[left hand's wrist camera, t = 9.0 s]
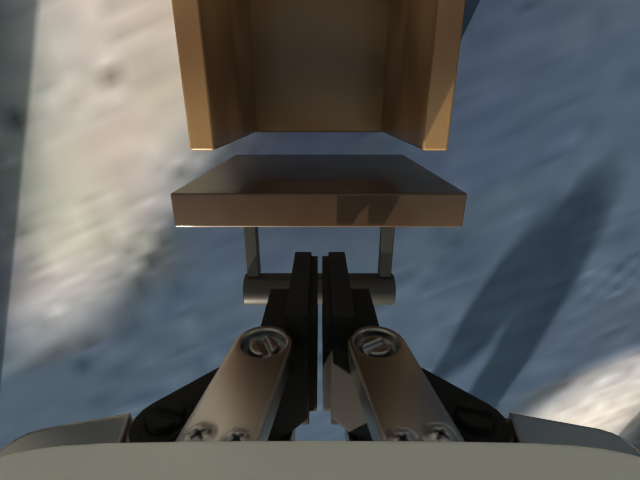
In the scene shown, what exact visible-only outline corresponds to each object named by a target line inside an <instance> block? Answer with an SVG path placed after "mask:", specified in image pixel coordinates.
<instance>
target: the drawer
mask: <svg viewBox="0 0 640 480" xmlns="http://www.w3.org/2000/svg"><path fill="white" fill-rule="evenodd" d="M465 1H466V0H172V7H173V15H174V23H175V31H176V38H177V46H178V54H179V62H180V70H181V78H182V86H183V94H184V101H185V109H186V117H187V125H188V133H189V141H190V148H191V150H214V149H217V148H219V147H221V146H224V145H226V144H228V143H231V142H233V141H236V140H238V139H240V138H243V137H245V136H247V135H250V134H252V133H254V132H384V133H386V134H389V135H391V136H393V137H396V138H398V139H400V140H402V141H405V142H407V143H409V144H412V145H414V146H416V147H418V148H421V149H423V150H447V146H448V138H449V130H450V122H451V114H452V106H453V98H454V90H455V82H456V74H457V66H458V58H459V50H460V41H461V33H462V25H463V17H464V9H465ZM466 197H467V194H466V193H465V192H463V191H461V190H460V189H458V188H456V187H455V186H453V185H452V184H450V183H448V182H447V181H445V180H443V179H442V178H440V177H438V176H437V175H435V174H433V173H432V172H430V171H429V170H427V169H425V168H424V167H422V166H420V165H419V164H417V163H415V162H414V161H412V160H410V159H409V158H407V157H406V156H404V155H235V156H233V157H232V158H230V159H228V160H227V161H225V162H223V163H222V164H220V165H218V166H216V167H215V168H213V169H211V170H210V171H208V172H206V173H205V174H203V175H201V176H200V177H198V178H196V179H195V180H193V181H191V182H190V183H188V184H186V185H185V186H183V187H181V188H180V189H178V190H176V191H175V192H173V193H171V199H172V206H173V212H174V219H175V225H176V227H244V236H245V248H246V260H247V274H246V275H245V277H244V282H243V299H244V303H245V304H246V305H267V302H268V298H269V294H270V290H271V289H289V288H290V282H291V276H292V273H260V272H261V269H260V254H259V239H258V227H381V230H380V245H379V261H378V273H348V276H349V282H350V288H351V289H369V291H370V294H371V298H372V302H373V305H393V304H394V301H395V295H396V287H395V279H394V276H393V274H392V273H391V268H392V255H393V243H394V230H395V227H462V224H463V217H464V210H465V204H466ZM318 305H322V273H318Z"/></svg>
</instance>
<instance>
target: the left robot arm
mask: <svg viewBox="0 0 640 480" xmlns="http://www.w3.org/2000/svg"><path fill="white" fill-rule="evenodd" d="M317 348H318V261H317V256H311V252H295V258H294V264H293V270H292V276H291V282H290V288H289V289H271V290H270V294H269V298H268V302H267V305H266V309H265V313H264V317H263V320H262V324H261V327H255V328H252V329H250V330H247V331H245V332H244V333H242V334H241V335H240V336H239V337H238V338H237V339H236V341H235V342H234V344H233V346H232V347H231V349H230V351H229V352H228V354H227V356H226V357H225V359H224V361H223V362H222V364H221V366H220V367H219V368H217V369H215V370H213V371H211V372H210V373H208V374H206V375H204V376H202V377H200V378H199V379H197V380H195V381H193V382H191V383H189V384H188V385H186V386H184V387H182V388H180V389H178V390H177V391H175V392H173V393H171V394H169V395H167V396H166V397H164V398H162V399H160V400H158V401H156V402H155V403H153V404H151V405H150V406H148V407H147V408H145V409H144V410H143V411H142V412H141V413H140V414H139V415H138V416H137V417H136V418H133V419H132V417H131V413H128V414H122V415H116V416H111V417H105V418H100V419H94V420H88V421H83V422H77V423H72V424H66V425H61V426H55V427H49V428H44V429H40V430H36V431H33V432H29V433H27V434H25V435H23V436H21V437H19V438H17V439H15V440H13V441H12V442H11V443H9V444H8V445H7V446H6V447H4V448H3V449H2V450H1V451H0V480H640V451H639V450H638V449H637V448H636V447H634V446H633V445H632V444H631V443H629V442H628V441H627V440H625V439H623V438H621V437H619V436H617V435H615V434H613V433H611V432H607V431H604V430H600V429H596V428H591V427H585V426H579V425H574V424H568V423H563V422H557V421H552V420H546V419H540V418H535V417H529V416H524V415H518V414H512V413H509V417H508V419H507V418H504V417H503V416H502V415H501V414H500V413H499V412H498V411H497V410H496V409H495V408H493V407H492V406H490V405H489V404H487V403H485V402H484V401H482V400H480V399H478V398H476V397H474V396H473V395H471V394H469V393H467V392H465V391H463V390H462V389H460V388H458V387H456V386H454V385H452V384H451V383H449V382H447V381H445V380H443V379H441V378H440V377H438V376H436V375H434V374H432V373H430V372H429V371H427V370H425V369H423V368H421V367H420V366H419V364H418V362H417V361H416V359H415V357H414V356H413V354H412V352H411V351H410V349H409V347H408V346H407V344H406V342H405V341H404V339H403V338H402V337H401V336H400V335H399V334H398V333H396V332H395V331H393V330H390V329H388V328H385V327H379V324H378V320H377V317H376V313H375V309H374V305H373V302H372V298H371V294H370V291H369V289H351V288H350V282H349V276H348V270H347V264H346V258H345V252H329V256H323V261H322V348H323V411H331V424H340V425H341V426H342V427H344V428H345V441H295V428H296V427H298V426H299V425H300V424H309V411H317Z"/></svg>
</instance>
